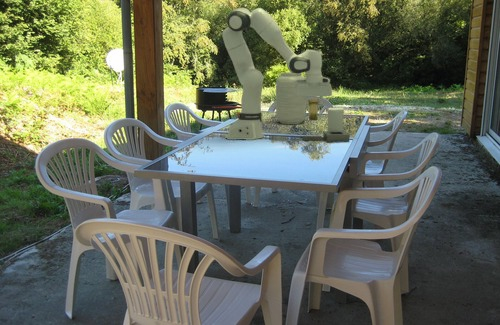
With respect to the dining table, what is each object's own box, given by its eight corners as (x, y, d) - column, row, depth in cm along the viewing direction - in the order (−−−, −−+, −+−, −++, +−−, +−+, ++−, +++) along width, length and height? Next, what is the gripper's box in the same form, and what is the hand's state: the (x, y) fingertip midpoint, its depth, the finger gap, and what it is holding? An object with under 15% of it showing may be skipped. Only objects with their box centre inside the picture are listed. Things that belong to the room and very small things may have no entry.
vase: (297, 126, 324) (298, 74, 316) (270, 124, 334) (270, 73, 327) (310, 122, 341) (311, 72, 333) (284, 120, 351) (284, 71, 343)
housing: (327, 142, 268) (327, 135, 267) (323, 138, 280) (323, 131, 279) (349, 142, 268) (349, 134, 267) (344, 138, 280) (344, 131, 279)
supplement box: (342, 135, 289) (343, 109, 286) (327, 134, 291) (327, 109, 288) (343, 132, 298) (343, 107, 295) (328, 132, 300) (328, 107, 296)
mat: (303, 140, 273) (303, 140, 273) (300, 137, 285) (300, 136, 285) (325, 140, 274) (325, 139, 274) (321, 136, 285) (321, 135, 285)
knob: (308, 120, 274) (308, 100, 271) (307, 118, 280) (307, 98, 277) (319, 120, 274) (319, 99, 271) (317, 118, 280) (317, 98, 277)
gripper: (295, 80, 268) (295, 105, 272) (332, 79, 269) (332, 105, 272) (293, 79, 274) (293, 104, 278) (330, 78, 275) (330, 103, 278)
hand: (313, 104), depth 275 cm, fingers closed on knob, 5 cm apart
